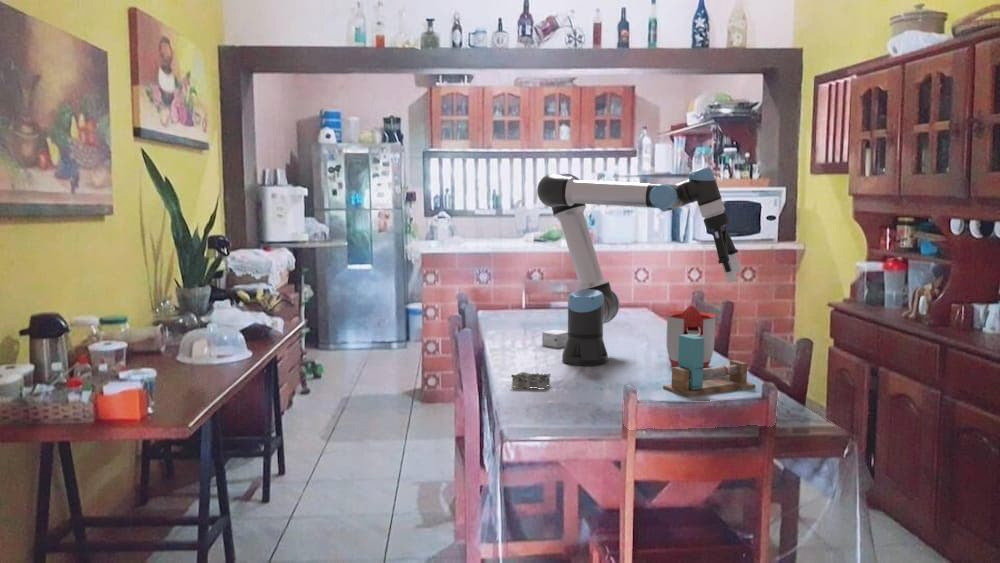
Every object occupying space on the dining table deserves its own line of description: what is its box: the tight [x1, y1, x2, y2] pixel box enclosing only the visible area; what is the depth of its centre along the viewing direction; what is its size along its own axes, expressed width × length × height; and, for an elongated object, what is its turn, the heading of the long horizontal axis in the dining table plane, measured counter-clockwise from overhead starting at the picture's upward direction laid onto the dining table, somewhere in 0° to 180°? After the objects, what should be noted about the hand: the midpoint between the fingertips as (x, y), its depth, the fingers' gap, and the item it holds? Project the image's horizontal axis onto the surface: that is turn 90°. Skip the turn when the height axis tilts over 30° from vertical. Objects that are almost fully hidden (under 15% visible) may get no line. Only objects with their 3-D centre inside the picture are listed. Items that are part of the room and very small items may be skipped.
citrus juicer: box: [666, 304, 717, 368], centre depth 243 cm, size 16×17×20 cm
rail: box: [662, 359, 756, 398], centre depth 216 cm, size 25×10×7 cm, turn 115°
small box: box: [541, 329, 568, 349], centre depth 279 cm, size 8×8×5 cm
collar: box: [678, 334, 704, 390], centre depth 213 cm, size 4×7×14 cm, turn 25°
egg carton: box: [511, 371, 551, 389], centre depth 218 cm, size 11×8×4 cm
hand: (735, 277), depth 243 cm, fingers open, 13 cm apart
